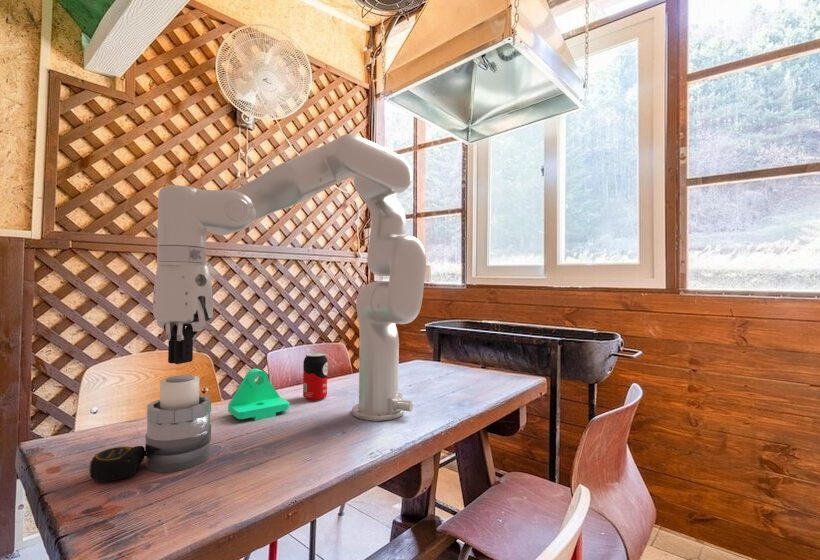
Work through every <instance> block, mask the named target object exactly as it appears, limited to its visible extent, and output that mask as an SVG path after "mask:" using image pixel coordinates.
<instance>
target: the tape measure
mask: <svg viewBox="0 0 820 560" xmlns="http://www.w3.org/2000/svg"><path fill="white" fill-rule="evenodd" d="M145 457H147V452H146V451H145V446H143V445H136V446H116V447H111V448H107V449H104V450H101V451H100V452H98V453H96V454H95V455H94V456H93V457H92V459H90V462H89V476H90V479H91V480H93V481H96V482H103V483H104V482H112V481H116V480H117V481H118V480H121V479H125V478H130V477H132V476H133V475H135V473H136V471H137V469H138V467H140V465H141V464H142V462H143V461H144V460H145Z"/></svg>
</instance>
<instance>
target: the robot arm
mask: <svg viewBox="0 0 820 560" xmlns="http://www.w3.org/2000/svg"><path fill="white" fill-rule="evenodd" d="M353 177H354V178H353ZM350 178H353V186H354V188H355V189H354V190H355V191H356V193H357V194H358V196H359V197H360V198H361V199H362V200H363V202H364V203H365V205H366V207H367V209H368V210H369V212H370V213H369V214H370V219H371V221H370V223H371V224H370V230H369V231H370V233H369V241H368V249H367V258H366V263H367V267H368V269H369V271H370V272H371V273H372V274H374V275H376V276H379V277H389V278H388V279H389V281H373V282H370V283H367V284H366V285H363V286H362V287H361V289H359V292H358V293H357V297H356V300H355V304H356V305H355V307H356V309H355V310H356V315H357V319H358V329H359V332H358V333H359V348H358V349H359V352H358V353H359V354H358V355H359V356H358V357H359V358H358V359H359V361H358V363H359V364H358V403H355V405H353V407H352V409H351V414H352V416H354V417H356V418H357V419H360V420H366V421H374V422H375V421H377V422H378V421H389V420H394V419H398V418H400V417H401V416H403V415H404V414H405V412H411V413H412V412H413V408H414V404H413V401H412V400H408V399H404V398H403V393H402V392H399V361H400V358H399V357H400V356H399V353H400V352H399V351H400V339H399V332H398V328H397V325H406V324H410V323H412V322H413V321H414V320H415V319H416V318H417V317H418V315H419V314H420V312H421V308H422V303H423V297H424V290H425V289H424V288H425V280H426V271H427V254H426V250H425V248H424V245H423V244H422V242H421V240H419V239H418V238H417V237H415V236H413V235H411V234H406V225H407V224H406V223H407V222H406V221H407V220H406V214H405V209H404V207H403V206H402V204H401V202H400V201H399V199H398V198H397V195H398V194H402V193H403V192H405V191H406V190H407V189H408V188H409V187H410V185H411V183H412V181H413V171H412V168H411V166H410V164H409V163H408V160H406V159H405V158H404V157H403V156H401V155H400V154H398V153H396V152H394V151H393V150H390V149H388V148H386V147H384V146H382V145H380V144H378V143H375V142H373V141H371V140H369V139H367V138H365V137H363V136H360V135H359V136H358V135H355V134H350V133H349V134H348V133H347V134H343V135H341V136H339V137H337V138H336V139H333V140H331V141H329V142H328V143H325V144H323V145H321V146H319V147H316V148H315V149H312V150H310V151H307V152H305V153H303V154H301V155H298V156H296V157H293V158H290V159H289V160H287V161H283V162H281V163H280V164H278V165H276V166H274V167H272V168H270V169H269V170H267V171H265V173H263V174H261V175H259V176H258V177H256V178H254V179H252V180H251V181H248V182H246V183H244V184H242V185H240V186H238V187H236V188H234V189H232V190H231V189H229V190H228V189H227V190H226V189H224V190H223V189H222V190H221V189H218V190H217V189H199V188H196V187H194V186H189V185H188V186H187V185H176V184H170V185H166V186H163V187H161V188H160V189H159V190H158V197H157V243H156V244H157V248H156V250H157V251H156V272H155V277H154V283H153V285H154V286H153V294H152V295H153V296H152V312H153V313H152V314H153V318H154V319H155V320H157V321H156V324H157V326H158V327H159V328H161V329H163V330H164V332H165V339H166V340H167V341H168V343H167V344H168V348H167V349H168V350H167V351H168V354H167V355H168V357H167V363H169V364H175V365H181V364H186V363H191V362H193V359H194V356H193V354H194V351H193V350H194V339H196V337H197V336H196V335H197V333H198V332H200V331H202V330H206V329H207V322H209V321H211V320H212V319H213V317H214V299H213V284H212V277H211V272H210V269H209V266H207V232H209V233H211V234H213V235H215V236H228V235H230V234H231V235H232V234H234V233H238V232H242V231H244V230H245V229H247V228H249V227H250V226H251V225H252V224H253V222H254V221H257V220H259V219H261V218H263V217H265V216H268V215H270V214H273V213H275V212H278V211H281V210H285V209H287V208H291V207H293V206H295V205H298V204H300V203H302V202H304V201H306V200H308V199H310V198H313V196H316V195H318V194H320V193H321V192H324V191H325V190H327V189H329V188H331V187H333V186H335V185H337V184H339V183H341V182H343V181H346V180H348V179H350Z"/></svg>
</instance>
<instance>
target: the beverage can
mask: <svg viewBox="0 0 820 560" xmlns="http://www.w3.org/2000/svg"><path fill="white" fill-rule="evenodd" d="M302 363H303V366H302V367H303V370H302V371H303V376H302V377H303V378H302V383H303V384H302V386H303V388H302V396H303V398H304V399H305V400H307V401H310V402H319V401H323V400H324V399H325V398H326V397H327V396H328V363H329V362H328V358H327V357H326V353H325V352H317V351H316V352H309V353H306V354H305V357H304V359H303V362H302Z"/></svg>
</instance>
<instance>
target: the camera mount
mask: <svg viewBox="0 0 820 560" xmlns="http://www.w3.org/2000/svg"><path fill="white" fill-rule="evenodd" d="M257 377H258V378H257ZM256 378H257V380H256ZM288 410H290V401H288V400H286V399H284V398H283V397H281V396H280V395H279V394H278V392H277V390H276V388H275V387H274V386H273V384H272V382H271V381H270V380H269V376H268V373H267V372H265V371H263V370H261V369H259V368H252V369H250V370H249V371H248V372H246V374H245V375H244V377H243V379H242V381H241V383H240V384H239V386H238V388H237V389H236V391H235V393H234V394H233V396H232V398H231V399H230V401H229V402H228V405H227V411H228V413H229V414H231V415H232V416H234V418H236V419H238V420H245V419H249V418H251V419H253V420H254V421H261V420H265V419H271V418H274V417H277V416H276V415H277V413H280V412H283V411H288Z"/></svg>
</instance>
